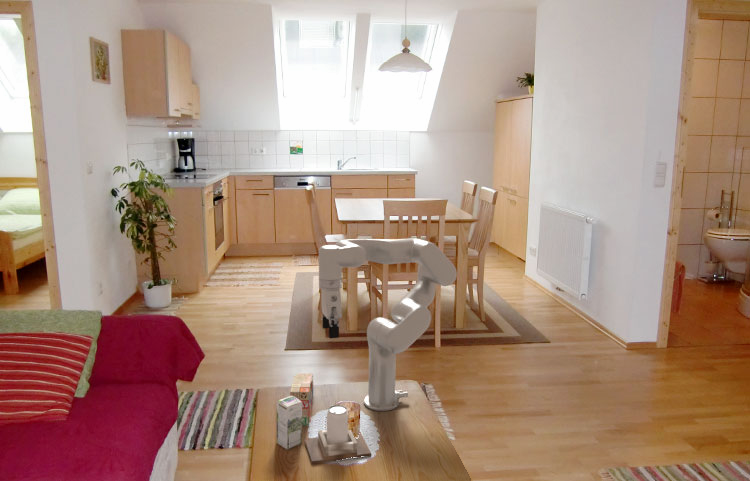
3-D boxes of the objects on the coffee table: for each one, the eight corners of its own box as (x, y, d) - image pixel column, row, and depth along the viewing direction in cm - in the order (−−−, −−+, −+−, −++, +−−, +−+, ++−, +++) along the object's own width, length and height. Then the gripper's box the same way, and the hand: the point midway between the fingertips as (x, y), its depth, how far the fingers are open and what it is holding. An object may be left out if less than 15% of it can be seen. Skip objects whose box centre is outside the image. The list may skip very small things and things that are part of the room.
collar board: (360, 434, 187) (360, 423, 186) (371, 456, 175) (371, 443, 174) (304, 441, 182) (304, 430, 182) (312, 464, 170) (311, 451, 169)
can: (352, 445, 179) (352, 409, 177) (337, 453, 174) (337, 416, 172) (337, 437, 183) (337, 402, 181) (322, 445, 178) (322, 409, 176)
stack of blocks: (296, 396, 213) (296, 365, 211) (313, 396, 214) (313, 365, 211) (290, 425, 192) (289, 391, 190) (309, 425, 193) (309, 391, 190)
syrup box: (291, 436, 185) (290, 394, 182) (302, 444, 181) (302, 400, 178) (276, 443, 181) (275, 399, 179) (287, 450, 177) (287, 406, 174)
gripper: (348, 289, 183) (348, 340, 186) (335, 275, 199) (335, 323, 202) (324, 290, 181) (325, 342, 184) (313, 277, 197) (314, 325, 200)
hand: (330, 332), depth 193 cm, fingers open, 9 cm apart
